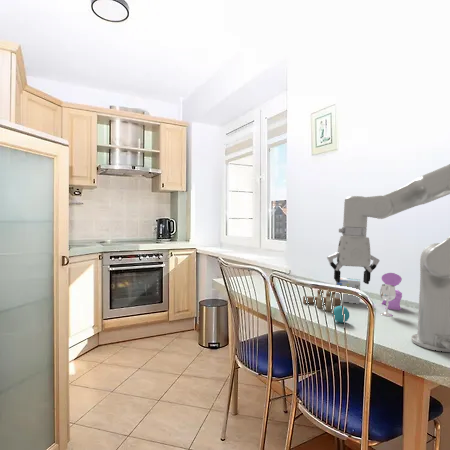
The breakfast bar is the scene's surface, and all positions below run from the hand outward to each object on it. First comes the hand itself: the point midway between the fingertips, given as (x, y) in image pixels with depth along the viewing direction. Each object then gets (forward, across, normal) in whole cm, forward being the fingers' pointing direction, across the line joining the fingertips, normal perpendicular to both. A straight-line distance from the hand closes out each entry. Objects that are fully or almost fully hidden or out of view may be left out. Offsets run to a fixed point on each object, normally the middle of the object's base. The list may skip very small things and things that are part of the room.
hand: (351, 282), depth 114 cm
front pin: (+17, 0, +24) cm, 29 cm away
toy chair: (+17, +30, +36) cm, 50 cm away
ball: (+14, 0, +9) cm, 16 cm away
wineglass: (+17, +22, +22) cm, 36 cm away
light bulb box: (+17, +13, +42) cm, 47 cm away
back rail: (+17, -1, +35) cm, 39 cm away
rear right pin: (+17, +2, +28) cm, 33 cm away
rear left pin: (+17, -3, +28) cm, 33 cm away
